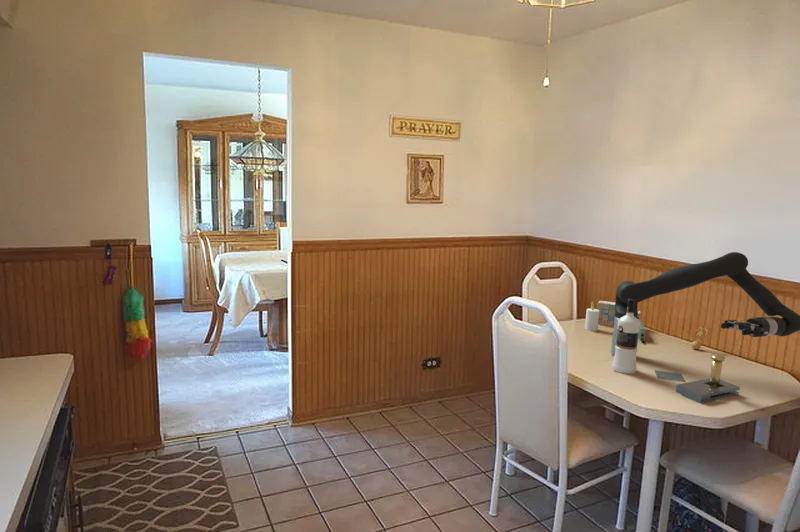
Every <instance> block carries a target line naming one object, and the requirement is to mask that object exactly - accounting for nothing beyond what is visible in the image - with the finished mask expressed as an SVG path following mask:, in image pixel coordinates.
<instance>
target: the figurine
mask: <svg viewBox="0 0 800 532" xmlns="http://www.w3.org/2000/svg"><path fill="white" fill-rule="evenodd" d="M698 330H700V331H699V332H698V333H697V334H696V338H697V339H696V340H693V341H692V342H691V348H692V349H694V350H699V349H701V348H702V345H701V342H700V341H701V340H702V337H703V336H704V338H707V337H708V336H707V335H708V333H709V331H708V327H707V326H706V325H704V324H701V325H700V327H698V328H696V329H695V331H694V333H696V332H697V331H698ZM705 332H706V333H705ZM704 334H705V335H704Z"/></svg>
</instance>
